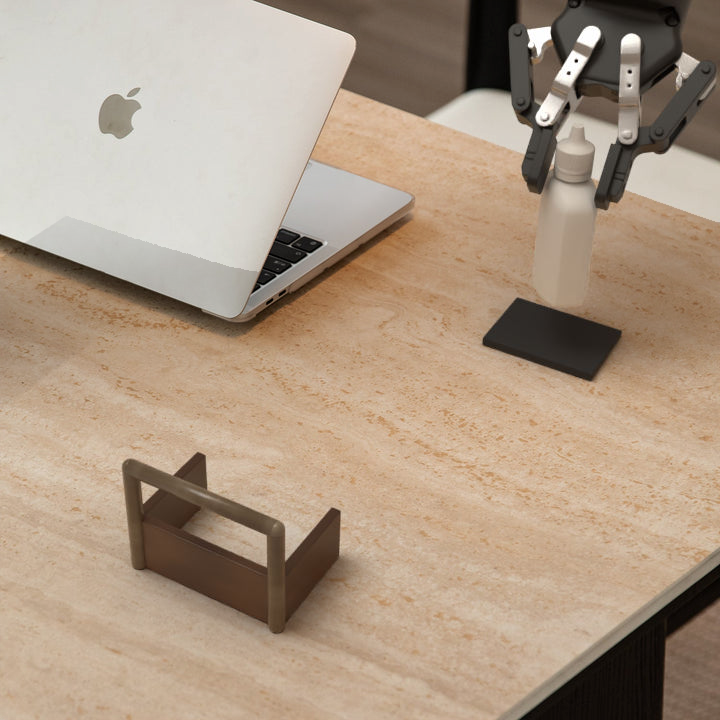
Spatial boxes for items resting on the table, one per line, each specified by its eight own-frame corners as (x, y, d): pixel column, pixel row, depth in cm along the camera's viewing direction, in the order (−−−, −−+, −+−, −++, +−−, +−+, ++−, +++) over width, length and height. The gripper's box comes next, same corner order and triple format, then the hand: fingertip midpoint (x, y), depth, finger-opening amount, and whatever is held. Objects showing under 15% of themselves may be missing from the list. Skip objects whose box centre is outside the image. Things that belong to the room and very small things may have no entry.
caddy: (128, 565, 68) (117, 462, 63) (197, 495, 72) (192, 395, 68) (279, 635, 64) (278, 531, 60) (342, 557, 69) (345, 455, 64)
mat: (481, 344, 86) (482, 337, 85) (516, 303, 90) (517, 296, 90) (590, 381, 83) (592, 374, 82) (621, 337, 87) (622, 330, 87)
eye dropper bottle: (600, 274, 85) (623, 113, 78) (578, 316, 81) (601, 151, 74) (538, 260, 87) (556, 101, 80) (514, 301, 83) (531, 137, 76)
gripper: (532, -101, 78) (449, 152, 76) (760, -64, 74) (677, 205, 72) (546, -42, 85) (471, 191, 84) (755, -5, 81) (680, 241, 79)
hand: (567, 196), depth 78 cm, fingers closed on eye dropper bottle, 3 cm apart
